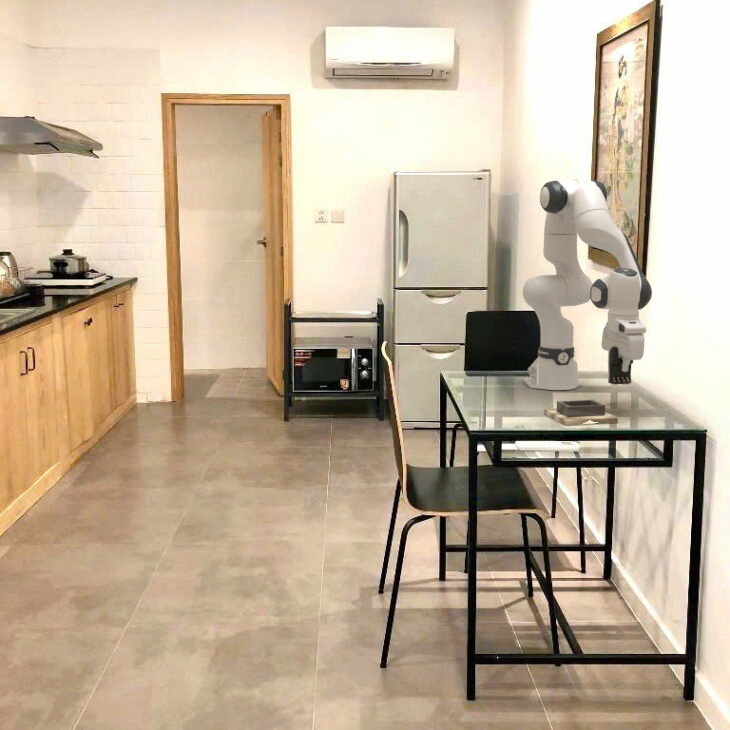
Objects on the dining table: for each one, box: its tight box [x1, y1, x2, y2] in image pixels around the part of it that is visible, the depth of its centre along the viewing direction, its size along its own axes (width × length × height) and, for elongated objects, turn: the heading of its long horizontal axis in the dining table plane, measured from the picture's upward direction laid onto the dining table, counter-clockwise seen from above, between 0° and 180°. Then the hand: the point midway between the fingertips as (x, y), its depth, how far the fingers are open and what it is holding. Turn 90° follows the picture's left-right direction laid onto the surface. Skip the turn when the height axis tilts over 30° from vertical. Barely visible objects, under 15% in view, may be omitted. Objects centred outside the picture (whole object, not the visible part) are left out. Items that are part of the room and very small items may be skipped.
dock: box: [543, 399, 619, 427], centre depth 266 cm, size 16×16×4 cm
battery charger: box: [607, 346, 634, 385], centre depth 270 cm, size 7×4×11 cm, turn 98°
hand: (620, 369), depth 271 cm, fingers closed on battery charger, 3 cm apart
